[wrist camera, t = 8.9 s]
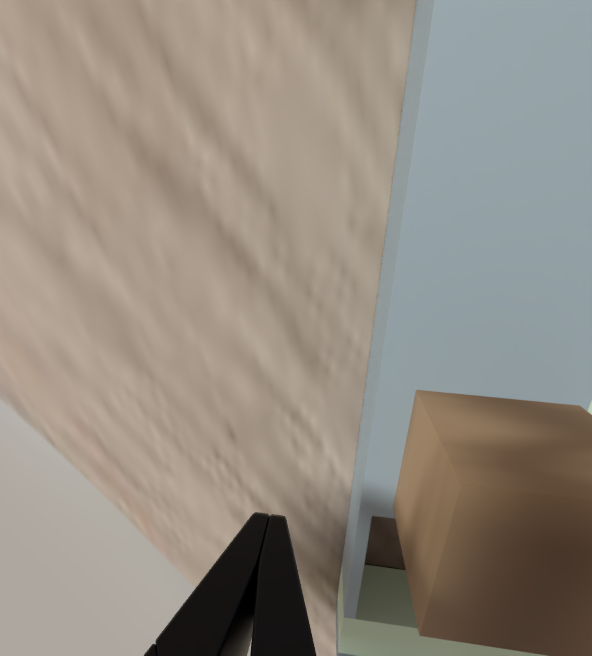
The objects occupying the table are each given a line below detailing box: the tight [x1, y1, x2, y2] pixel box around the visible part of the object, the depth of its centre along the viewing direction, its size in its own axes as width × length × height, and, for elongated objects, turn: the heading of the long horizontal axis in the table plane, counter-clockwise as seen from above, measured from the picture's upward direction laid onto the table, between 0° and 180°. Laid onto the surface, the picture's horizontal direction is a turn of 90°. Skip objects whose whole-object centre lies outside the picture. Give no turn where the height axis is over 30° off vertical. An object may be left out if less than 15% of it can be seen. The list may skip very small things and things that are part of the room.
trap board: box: [336, 0, 592, 656], centre depth 12 cm, size 15×27×3 cm, turn 177°
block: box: [393, 390, 592, 656], centre depth 9 cm, size 5×5×4 cm
